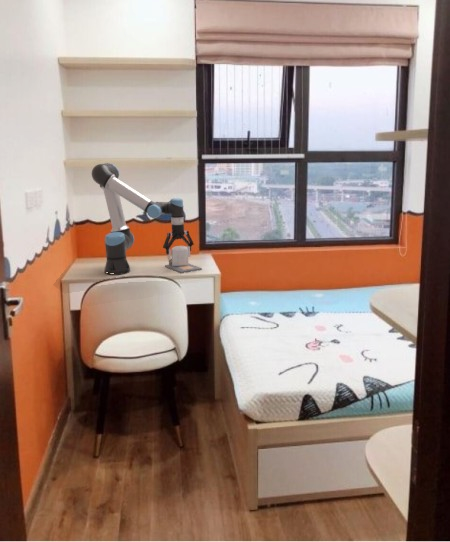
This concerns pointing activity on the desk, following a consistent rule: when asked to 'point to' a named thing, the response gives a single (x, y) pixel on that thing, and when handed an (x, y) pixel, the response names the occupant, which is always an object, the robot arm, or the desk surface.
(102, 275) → the desk surface
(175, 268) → the dock
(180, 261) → the photo printer
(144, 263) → the desk surface
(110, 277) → the desk surface
